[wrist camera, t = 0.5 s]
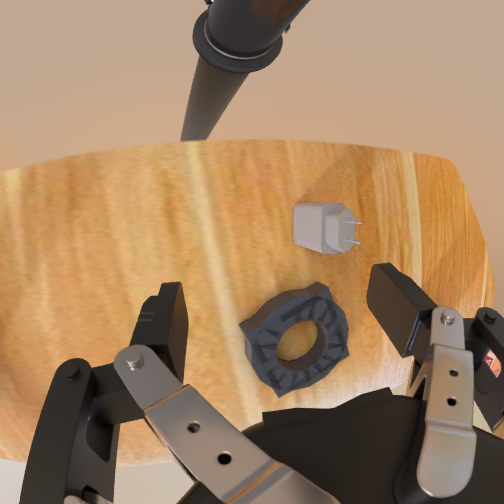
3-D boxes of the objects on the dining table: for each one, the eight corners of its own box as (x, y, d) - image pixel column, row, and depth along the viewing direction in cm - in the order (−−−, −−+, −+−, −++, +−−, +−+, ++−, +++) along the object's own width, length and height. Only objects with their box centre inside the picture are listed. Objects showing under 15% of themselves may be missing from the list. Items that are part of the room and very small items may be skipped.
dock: (227, 321, 36) (233, 330, 33) (321, 271, 39) (333, 276, 36) (267, 394, 40) (274, 405, 37) (346, 348, 42) (356, 356, 39)
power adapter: (315, 203, 37) (374, 204, 25) (314, 244, 38) (372, 261, 26) (293, 202, 36) (348, 202, 24) (293, 245, 37) (346, 263, 25)
